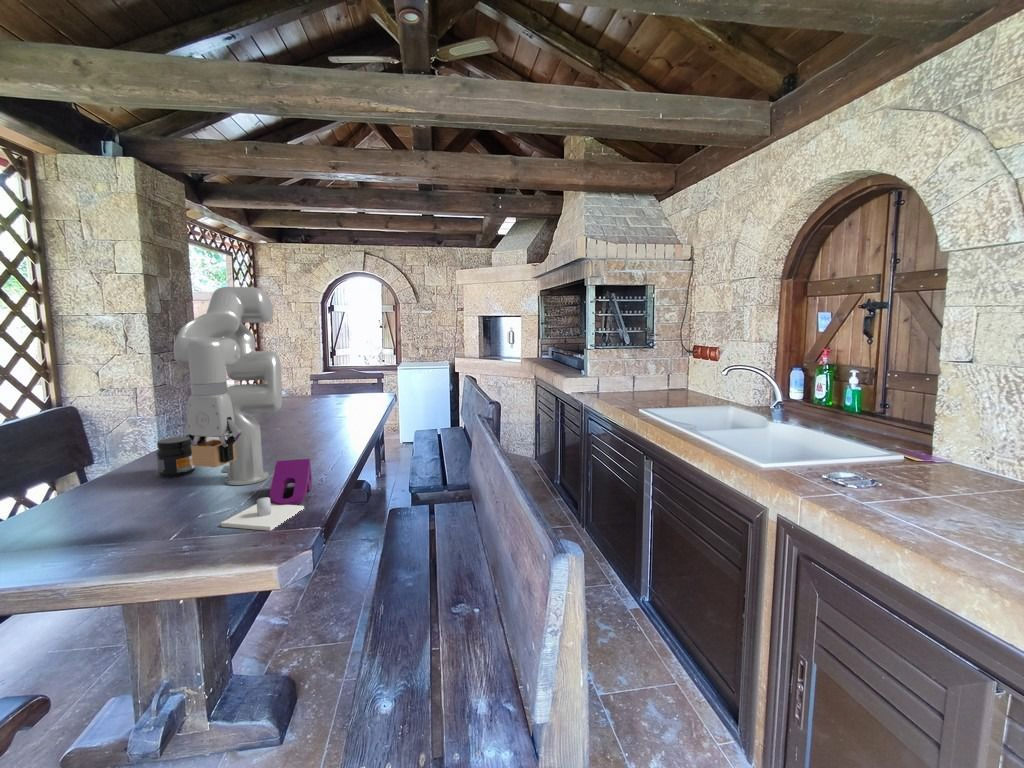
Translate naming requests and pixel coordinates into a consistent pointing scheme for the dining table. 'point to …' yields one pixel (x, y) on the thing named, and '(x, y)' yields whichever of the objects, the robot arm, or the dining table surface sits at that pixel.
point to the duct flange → (262, 515)
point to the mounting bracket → (291, 481)
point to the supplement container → (174, 457)
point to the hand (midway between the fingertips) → (215, 459)
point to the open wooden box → (209, 453)
